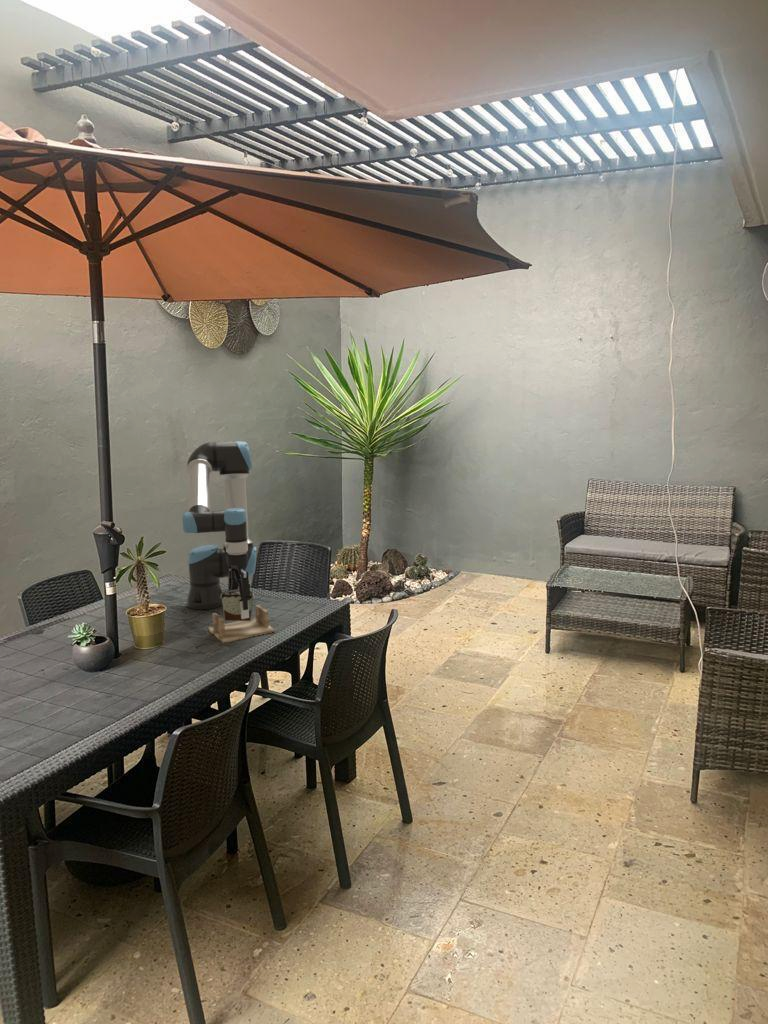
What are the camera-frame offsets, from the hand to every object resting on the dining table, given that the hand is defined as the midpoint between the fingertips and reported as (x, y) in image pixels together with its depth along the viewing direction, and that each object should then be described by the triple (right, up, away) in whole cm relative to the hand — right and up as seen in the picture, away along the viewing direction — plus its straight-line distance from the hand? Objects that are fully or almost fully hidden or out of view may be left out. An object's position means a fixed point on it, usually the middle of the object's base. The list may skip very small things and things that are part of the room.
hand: (240, 614), depth 260 cm
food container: (0, -2, +1) cm, 2 cm away
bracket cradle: (0, -6, +1) cm, 6 cm away
